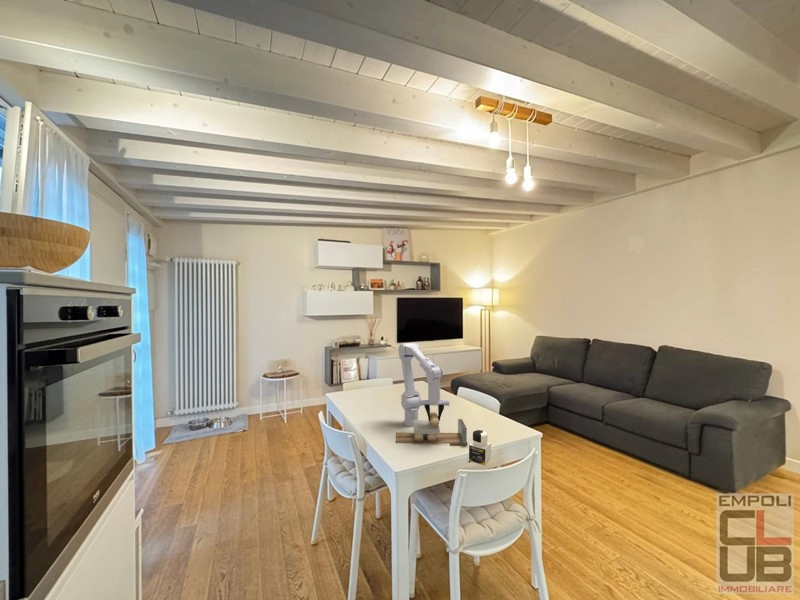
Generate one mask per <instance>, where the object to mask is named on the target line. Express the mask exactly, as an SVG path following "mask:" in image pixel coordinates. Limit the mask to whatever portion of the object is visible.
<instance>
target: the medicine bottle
mask: <svg viewBox="0 0 800 600" xmlns="http://www.w3.org/2000/svg"><path fill="white" fill-rule="evenodd" d="M491 454H492V443H491V442H489V441H488V433H487V432H486V431H485V430H480V429H476V430H473V432H472V441H471V442H470V443H469V444H468V461H469V462H470V463H475V464H477V465H481V466H487V464H488V463H489V462H490V461H491V459H492V455H491Z"/></svg>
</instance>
